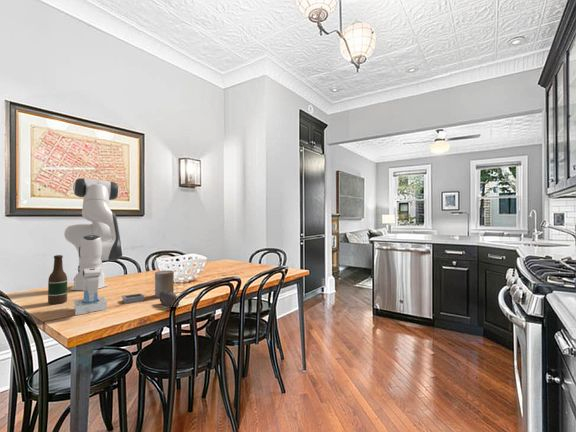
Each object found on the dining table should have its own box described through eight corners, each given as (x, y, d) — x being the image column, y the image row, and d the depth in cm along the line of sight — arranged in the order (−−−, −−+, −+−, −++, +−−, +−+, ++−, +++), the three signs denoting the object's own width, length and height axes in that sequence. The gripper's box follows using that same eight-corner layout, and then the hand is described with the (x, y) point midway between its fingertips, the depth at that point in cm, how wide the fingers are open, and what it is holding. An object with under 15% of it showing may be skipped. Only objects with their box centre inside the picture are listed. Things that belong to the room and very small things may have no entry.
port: (74, 308, 145) (74, 300, 145) (103, 304, 153) (103, 296, 153) (75, 315, 136) (75, 306, 136) (106, 310, 143) (106, 301, 143)
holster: (122, 301, 158) (122, 295, 158) (140, 299, 164) (140, 293, 164) (125, 304, 153) (125, 298, 153) (144, 302, 158) (144, 296, 158)
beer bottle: (70, 301, 158) (71, 254, 158) (55, 305, 150) (56, 256, 150) (59, 300, 160) (60, 254, 160) (43, 304, 152) (44, 255, 153)
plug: (83, 307, 144) (83, 288, 144) (96, 305, 147) (96, 286, 147) (84, 309, 141) (84, 289, 141) (97, 307, 145) (97, 288, 145)
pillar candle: (176, 294, 174) (176, 268, 174) (168, 299, 164) (168, 271, 165) (160, 294, 175) (160, 268, 175) (151, 298, 165) (151, 270, 165)
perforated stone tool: (182, 308, 148) (182, 294, 148) (172, 311, 144) (172, 296, 144) (168, 302, 158) (168, 289, 158) (158, 304, 154) (158, 290, 154)
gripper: (81, 267, 151) (80, 295, 151) (84, 273, 135) (84, 305, 134) (96, 266, 155) (95, 293, 155) (101, 272, 138) (101, 303, 138)
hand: (90, 299), depth 144 cm, fingers open, 6 cm apart
